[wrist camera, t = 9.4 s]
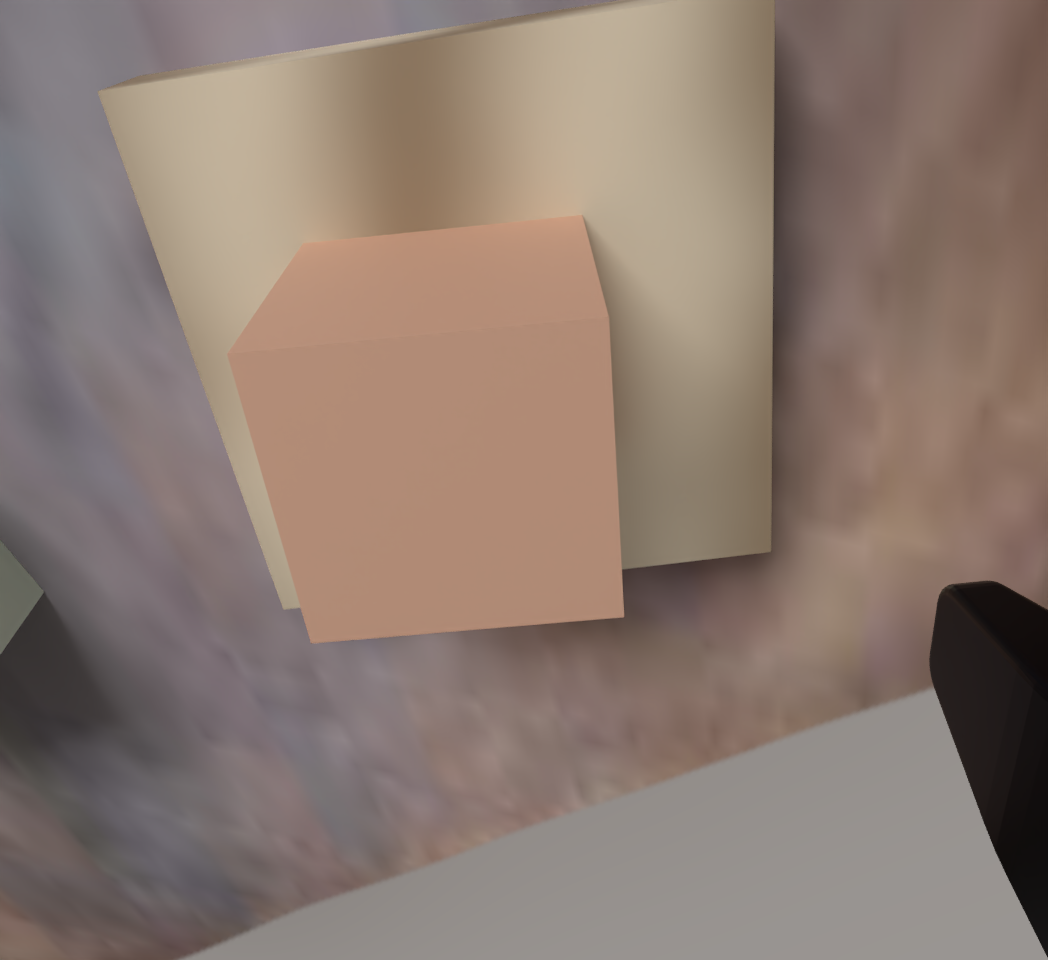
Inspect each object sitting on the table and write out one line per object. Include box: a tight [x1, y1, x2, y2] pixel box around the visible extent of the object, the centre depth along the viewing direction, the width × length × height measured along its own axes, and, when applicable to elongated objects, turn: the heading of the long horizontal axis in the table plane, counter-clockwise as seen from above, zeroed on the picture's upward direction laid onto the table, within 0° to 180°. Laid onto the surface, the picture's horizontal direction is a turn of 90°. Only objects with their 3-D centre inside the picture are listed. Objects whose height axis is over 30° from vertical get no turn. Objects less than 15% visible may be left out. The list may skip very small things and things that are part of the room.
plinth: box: [98, 0, 775, 610], centre depth 18 cm, size 11×11×2 cm
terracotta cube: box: [227, 215, 624, 643], centre depth 15 cm, size 5×5×5 cm
